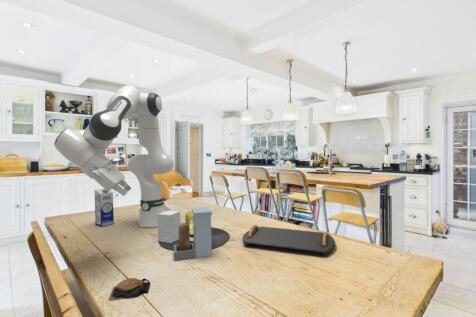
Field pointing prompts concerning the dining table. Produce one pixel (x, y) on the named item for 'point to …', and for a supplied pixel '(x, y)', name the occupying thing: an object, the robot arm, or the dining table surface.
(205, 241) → the pale blue tower
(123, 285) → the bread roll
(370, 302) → the dining table surface
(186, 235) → the walnut block
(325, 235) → the serving board
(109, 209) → the milk carton
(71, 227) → the dining table surface
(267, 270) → the dining table surface
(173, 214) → the supplement box
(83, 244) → the dining table surface
